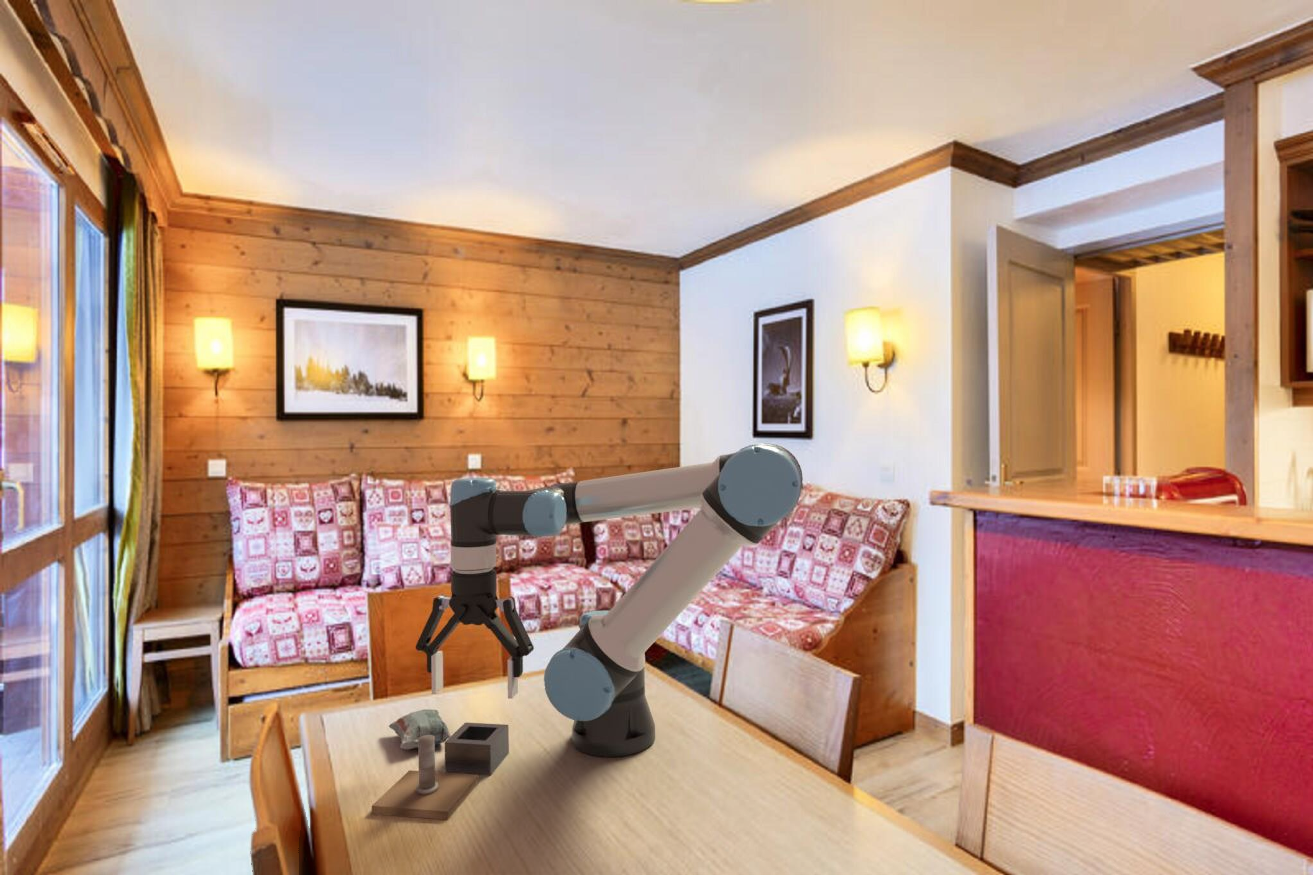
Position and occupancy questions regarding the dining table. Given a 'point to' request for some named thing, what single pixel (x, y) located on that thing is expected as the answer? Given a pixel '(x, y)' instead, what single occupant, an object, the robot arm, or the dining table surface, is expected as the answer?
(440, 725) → the packaged food
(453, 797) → the stand
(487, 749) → the link
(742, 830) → the dining table surface
